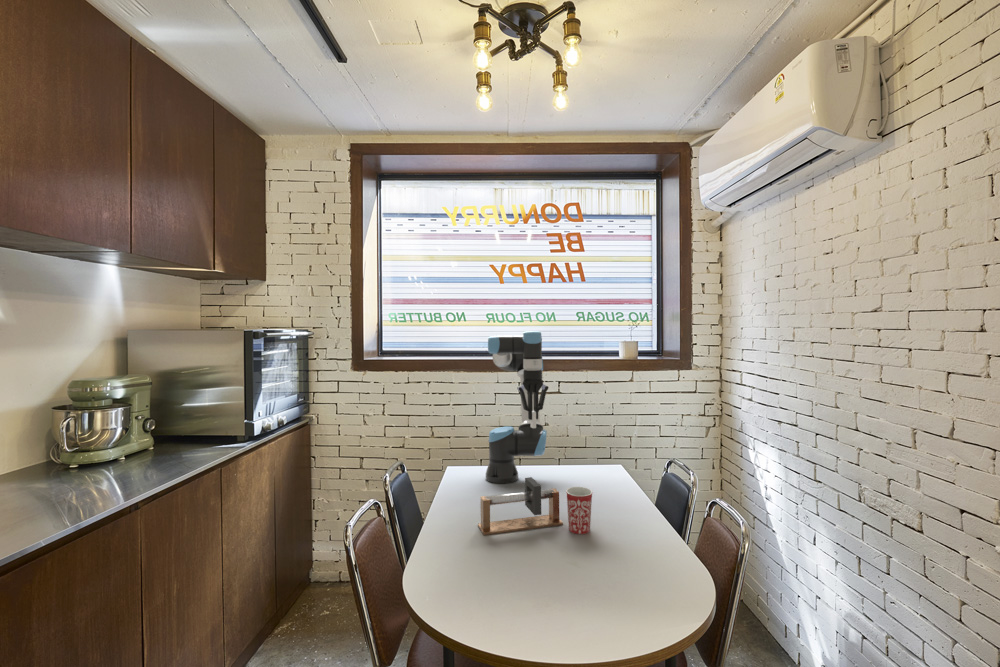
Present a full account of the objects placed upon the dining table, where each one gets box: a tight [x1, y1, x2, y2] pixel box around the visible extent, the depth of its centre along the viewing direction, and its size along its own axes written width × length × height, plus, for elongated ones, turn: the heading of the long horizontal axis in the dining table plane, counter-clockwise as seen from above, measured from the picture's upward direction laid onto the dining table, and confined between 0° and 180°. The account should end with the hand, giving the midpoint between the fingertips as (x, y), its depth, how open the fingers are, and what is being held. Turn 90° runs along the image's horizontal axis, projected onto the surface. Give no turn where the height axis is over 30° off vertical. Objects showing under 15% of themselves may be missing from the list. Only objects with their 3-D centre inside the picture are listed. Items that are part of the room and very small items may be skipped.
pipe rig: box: [477, 488, 564, 536], centre depth 168 cm, size 29×8×12 cm, turn 106°
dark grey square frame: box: [524, 476, 542, 516], centre depth 169 cm, size 2×10×10 cm, turn 16°
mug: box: [565, 486, 594, 535], centre depth 166 cm, size 13×9×14 cm
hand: (533, 427), depth 193 cm, fingers closed
